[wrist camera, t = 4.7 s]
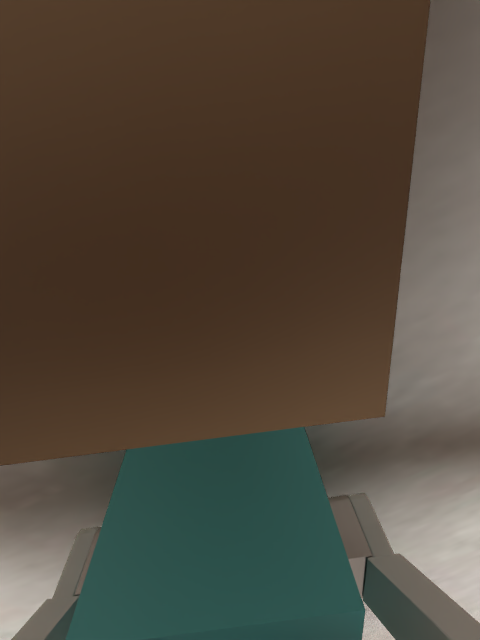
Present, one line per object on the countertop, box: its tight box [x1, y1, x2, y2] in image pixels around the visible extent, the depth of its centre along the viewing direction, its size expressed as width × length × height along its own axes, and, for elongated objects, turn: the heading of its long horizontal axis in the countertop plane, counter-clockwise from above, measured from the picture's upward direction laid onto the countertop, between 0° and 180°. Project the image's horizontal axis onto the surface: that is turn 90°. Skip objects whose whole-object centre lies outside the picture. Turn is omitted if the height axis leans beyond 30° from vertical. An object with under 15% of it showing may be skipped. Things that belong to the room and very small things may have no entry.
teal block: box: [65, 427, 365, 640], centre depth 9 cm, size 5×5×5 cm
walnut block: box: [0, 0, 430, 466], centre depth 5 cm, size 5×5×5 cm
